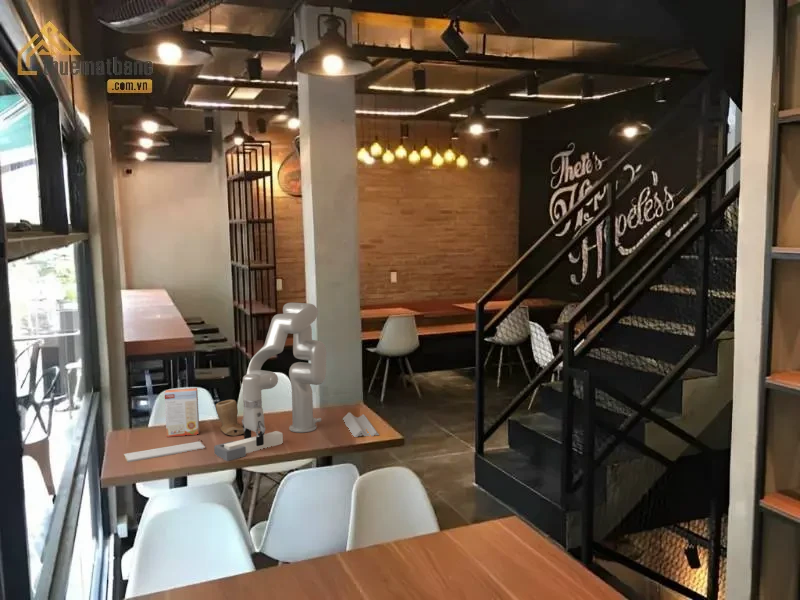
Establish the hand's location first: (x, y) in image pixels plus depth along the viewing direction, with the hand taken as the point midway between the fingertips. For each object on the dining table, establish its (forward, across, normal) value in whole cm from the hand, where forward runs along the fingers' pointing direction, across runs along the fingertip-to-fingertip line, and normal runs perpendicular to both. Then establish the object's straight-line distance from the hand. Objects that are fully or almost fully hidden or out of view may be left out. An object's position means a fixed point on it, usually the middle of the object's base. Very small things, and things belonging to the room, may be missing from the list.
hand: (253, 442), depth 280 cm
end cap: (+3, 0, +11) cm, 11 cm away
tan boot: (+3, +28, -5) cm, 29 cm away
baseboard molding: (+4, +24, +28) cm, 38 cm away
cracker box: (+3, +42, +12) cm, 43 cm away
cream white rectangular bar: (+3, 0, 0) cm, 3 cm away
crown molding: (+4, -7, -53) cm, 54 cm away
